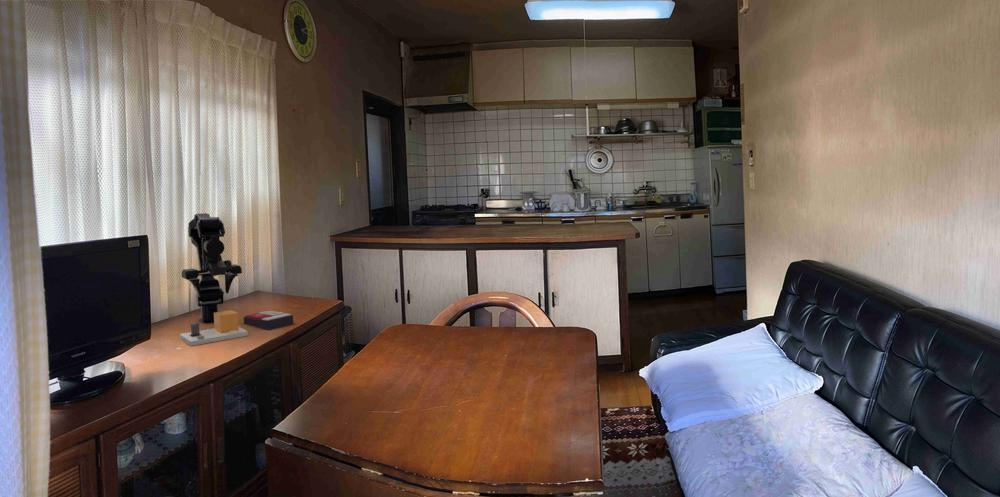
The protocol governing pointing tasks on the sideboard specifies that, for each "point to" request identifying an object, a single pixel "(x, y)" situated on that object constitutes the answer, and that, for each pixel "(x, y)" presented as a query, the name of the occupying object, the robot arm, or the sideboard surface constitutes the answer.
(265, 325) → the calculator
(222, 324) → the light orange cube
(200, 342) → the panel
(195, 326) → the breaker
